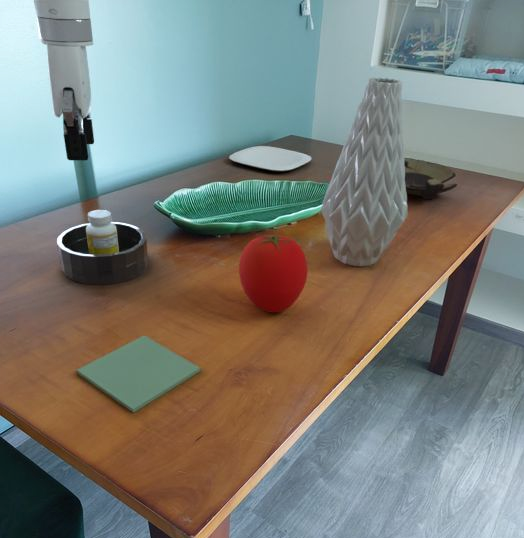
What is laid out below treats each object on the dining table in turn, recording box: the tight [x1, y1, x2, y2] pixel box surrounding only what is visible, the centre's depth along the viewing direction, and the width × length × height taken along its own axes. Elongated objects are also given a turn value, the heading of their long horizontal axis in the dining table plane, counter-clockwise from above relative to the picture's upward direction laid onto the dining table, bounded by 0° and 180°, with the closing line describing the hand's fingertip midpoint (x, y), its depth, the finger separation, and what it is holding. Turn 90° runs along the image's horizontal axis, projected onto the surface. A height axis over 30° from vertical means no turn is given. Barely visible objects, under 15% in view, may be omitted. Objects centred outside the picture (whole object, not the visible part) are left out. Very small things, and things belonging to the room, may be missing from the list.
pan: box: [56, 221, 149, 286], centre depth 99 cm, size 16×16×6 cm
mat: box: [76, 335, 201, 413], centre depth 74 cm, size 12×12×1 cm
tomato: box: [238, 232, 308, 313], centre depth 87 cm, size 11×11×13 cm
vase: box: [320, 77, 409, 268], centre depth 100 cm, size 17×17×33 cm
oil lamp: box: [404, 157, 458, 200], centre depth 143 cm, size 22×30×8 cm
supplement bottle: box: [86, 209, 119, 255], centre depth 97 cm, size 5×5×10 cm
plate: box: [228, 145, 312, 172], centre depth 161 cm, size 22×22×2 cm
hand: (81, 151), depth 89 cm, fingers open, 9 cm apart
